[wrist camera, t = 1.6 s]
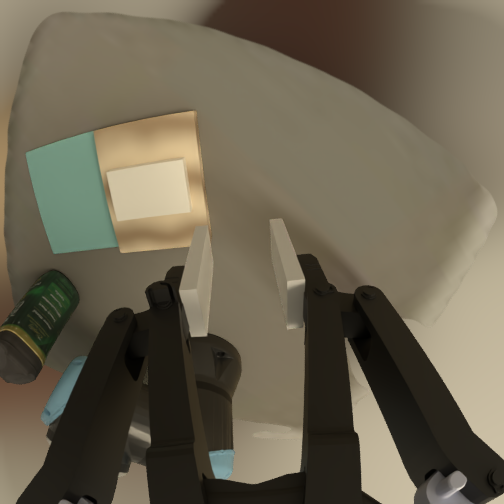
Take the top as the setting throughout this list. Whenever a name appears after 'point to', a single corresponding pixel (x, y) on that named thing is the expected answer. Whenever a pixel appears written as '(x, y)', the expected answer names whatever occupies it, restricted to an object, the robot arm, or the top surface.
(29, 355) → the coffee jar
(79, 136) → the mat
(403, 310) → the top surface
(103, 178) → the tan flat block
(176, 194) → the card
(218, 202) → the top surface
